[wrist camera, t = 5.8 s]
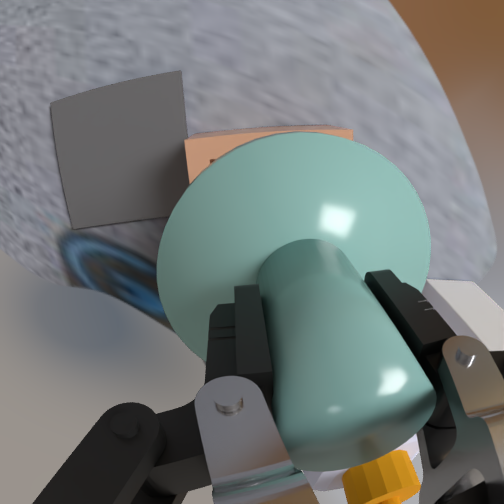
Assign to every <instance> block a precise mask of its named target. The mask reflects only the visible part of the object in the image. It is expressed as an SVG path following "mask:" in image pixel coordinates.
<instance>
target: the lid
mask: <svg viewBox="0 0 504 504" xmlns="http://www.w3.org/2000/svg"><path fill="white" fill-rule="evenodd" d="M430 255H431V238H430V231H429V224H428V220H427V217H426V213H425V210H424V207H423V205H422V203H421V201H420V198H419V196H418V194H417V192H416V191H415V189H414V188H413V186H412V185H411V183H410V182H409V180H408V179H407V178H406V177H405V176H404V175H403V173H402V172H401V171H400V170H399V169H398V168H397V167H396V166H395V165H394V164H392V163H391V162H390V161H389V160H387V159H386V158H385V157H384V156H382V155H381V154H379V153H377V152H376V151H374V150H372V149H370V148H368V147H367V146H365V145H362V144H360V143H357V142H354V141H351V140H349V139H346V138H342V137H339V136H335V135H330V134H324V133H319V132H305V131H293V132H284V133H275V134H271V135H268V136H264V137H260V138H256V139H253V140H251V141H249V142H246V143H244V144H242V145H239V146H237V147H235V148H233V149H232V150H230V151H228V152H227V153H225V154H223V155H222V156H220V157H218V158H217V159H216V160H215V161H213V162H212V163H211V164H210V165H208V166H207V167H206V168H205V169H204V170H202V172H201V173H200V174H199V175H198V176H197V177H196V178H195V179H194V180H193V181H192V182H191V183H190V185H189V186H188V187H187V189H186V190H185V192H184V193H183V195H182V196H181V198H180V199H179V201H178V202H177V204H176V206H175V208H174V209H173V211H172V213H171V216H170V218H169V220H168V222H167V224H166V226H165V228H164V232H163V235H162V238H161V242H160V245H159V251H158V258H157V285H158V290H159V296H160V300H161V303H162V306H163V309H164V312H165V314H166V316H167V318H168V320H169V322H170V324H171V326H172V328H173V329H174V330H175V332H176V333H177V335H178V336H179V337H180V339H181V340H182V341H183V342H184V343H185V344H186V345H187V346H188V348H189V349H191V350H192V351H193V352H194V353H195V354H196V355H197V356H199V357H200V358H201V359H202V360H204V361H205V362H206V359H207V344H208V331H209V318H210V314H211V313H212V312H213V310H214V309H215V307H216V306H217V305H218V304H227V303H235V302H234V286H240V285H250V284H259V289H260V296H261V302H262V308H263V314H264V321H265V327H266V333H267V340H268V346H269V352H270V359H271V365H272V372H273V392H274V394H273V397H272V404H271V407H272V415H273V420H274V423H275V425H276V427H277V430H278V432H279V434H280V436H281V439H282V441H283V443H284V446H285V448H286V450H287V452H288V455H289V457H290V459H291V461H292V463H293V465H294V467H295V468H296V469H300V470H305V471H314V472H325V471H336V470H342V469H347V468H351V467H355V466H359V465H362V464H365V463H368V462H370V461H373V460H375V459H377V458H380V457H382V456H384V455H386V454H388V453H389V452H391V451H393V450H395V449H396V448H398V447H399V446H401V445H402V444H404V443H405V442H407V441H408V440H409V439H410V438H412V437H413V436H414V435H415V434H416V433H417V432H418V431H419V430H420V429H421V428H422V427H423V426H424V425H425V423H426V422H427V421H428V419H429V418H430V416H431V415H432V413H433V411H434V408H435V405H436V399H437V396H436V392H435V390H434V388H433V386H432V384H431V383H430V381H429V379H428V378H427V376H426V374H425V373H424V371H423V370H422V368H421V366H420V365H419V363H418V361H417V360H416V358H415V357H414V355H413V353H412V352H411V350H410V349H409V347H408V346H407V344H406V342H405V341H404V339H403V338H402V336H401V335H400V333H399V332H398V330H397V329H396V327H395V326H394V324H393V323H392V321H391V320H390V318H389V317H388V315H387V314H386V312H385V311H384V309H383V308H382V306H381V305H380V303H379V302H378V300H377V299H376V297H375V296H374V294H373V293H372V292H371V290H370V289H369V287H368V286H367V284H366V283H365V282H364V278H365V274H366V273H367V272H370V271H378V270H386V269H390V270H391V271H392V272H393V273H394V274H395V275H396V276H397V278H398V279H399V280H400V281H401V282H402V283H404V282H406V283H407V284H409V285H411V286H413V287H414V288H416V289H418V290H419V291H420V292H421V293H422V290H423V288H424V285H425V282H426V278H427V274H428V270H429V264H430Z"/></svg>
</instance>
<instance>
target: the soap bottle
mask: <svg viewBox="0 0 504 504" xmlns="http://www.w3.org/2000/svg"><path fill="white" fill-rule="evenodd" d="M419 452H420V451H419V446H418V440H417V435H416V434H415V435H414V436H413V437H412V438H410V439H409V440H408V441H407V442H405V443H404V444H402V445H401V446H399V447H398V448H396V449H395V450H393V451H391V452H389V453H388V454H386V455H384V456H382V457H380V458H377V459H375V460H373V461H370V462H368V463H365V464H362V465H359V466H355V467H351V468H347V469H342V470H336V471H325V472H314V471H305V470H303V472H304V475H305V476H306V478H307V480H308V482H309V483H310V485H311V487H312V489H313V490H318V491H327V490H333V489H340V488H344V491H345V494H346V498H347V502H348V504H401V502H403V501H405V500H407V499H409V498H410V497H412V496H413V495H415V494H416V493H418V491H419V490H420V488H421V485H420V482H419V480H418V477H417V475H416V472H415V470H414V467H413V465H412V462H411V461H412V460H413V458H414V457H415V456H416V455H417V454H418V453H419Z"/></svg>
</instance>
